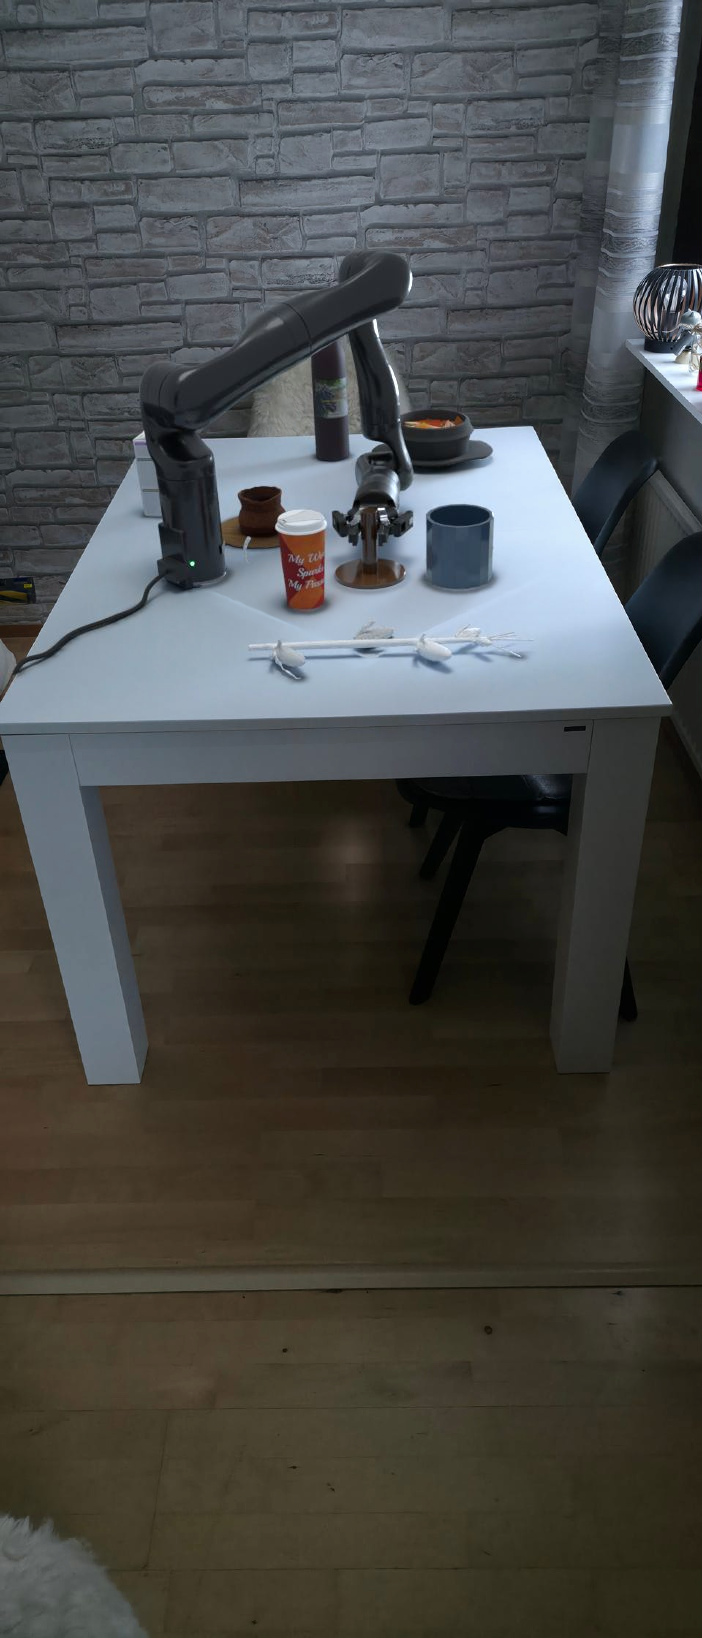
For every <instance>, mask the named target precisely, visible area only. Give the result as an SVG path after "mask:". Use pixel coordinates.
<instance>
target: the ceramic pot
mask: <svg viewBox="0 0 702 1638" xmlns="http://www.w3.org/2000/svg"><path fill="white" fill-rule="evenodd" d="M282 494H283V491H282V489H281V488H280V487H277V486H275V485H274V486H269V485H259V486H253V487H250V488H244V489H241V490H240V491H238V493H237V499H238V500H239V503H240V506H241V507H240V509H239V511H238V516H236V517H232V518H229V519H227V520H226V521H224V522H221V527H222V537H223V542H224V540H225V545H226V544H227V545H231V546H233V547H238V548H239V547H240V548H244V543H245V540H246V539H247V537H250V538H251V540H250V541H249V543H248V545H247V548H252V549H256V548H257V549H258V548H261V549H264V548H267V549H268V548H276V547H280V544H279V536H278V531H277V530H276V528H275V526H276V524H277V520H278V517H279V516H280V515H281V514H283V513H285V512H287V511H286V508H284V507H283V506H282Z"/></svg>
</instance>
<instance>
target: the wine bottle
mask: <svg viewBox="0 0 702 1638" xmlns="http://www.w3.org/2000/svg"><path fill="white" fill-rule="evenodd" d="M310 369H311V388H312V403H313V404H312V405H313V406H312V407H313V408H312V409H313V424H314V425H313V426H314V441H315V442H314V445H315V455H316V458H317V459H319V460H321V461H326V462H337V461H342V460H345V459H347V458H348V457H349V456H350V451H351V450H350V427H349V403H348V401H349V399H348V374H347V372H348V371H347V357H346V351H345V347H344V345H343V341H341V338H340V339H338V340H336V341H335V342H333V343H332V344H330V345H328V346H327V347H325V348H323V349H322V350H320V351H318V352H317V353H315V354H314V355H312V356H311V357H310Z"/></svg>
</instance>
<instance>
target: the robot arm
mask: <svg viewBox="0 0 702 1638" xmlns="http://www.w3.org/2000/svg"><path fill="white" fill-rule="evenodd" d="M412 272H413V271H412V269H411V266H410V265H409V263H408V261H406V259H405V258H404V257H402V256H401V255H399V254H397V253H395V252H393V251H389V250H379V249H353V250H351V251H350V252H349V253H347V254H345V256H344V258H342V260H341V262H340V264H339V268H338V272H337V284H336V285H333V286H329V287H325V288H320V289H316V290H313V291H308V292H304V293H301V294H298V295H294V296H291V297H288V298H286V299H284V300H282V301H280V302H277V303H276V304H275V305H272V306H271V307H269V308H267V309H265V310H264V311H262V312H260V313H259V314H257V315H256V316H254V317H253V318H252V319H251V320H250V321H249V322H248V323H246V325H245V327H244V328H243V329H242V331H241V332H240V335H239V336H238V338H237V340H236V341H235V343H234V344H233V345H232V346H231V347H230V348H229V349H227V350H226V351H224V352H223V353H221V354H219V355H217V356H215V357H213V358H212V359H209V360H207V361H205V362H202V363H199V364H195V365H188V364H186V363H185V364H184V363H181V362H176V361H173V360H158V361H156V362H153V363H151V364H150V365H149V366H148V367H147V368H146V369H145V370H144V372H143V374H142V376H141V379H140V383H139V388H138V401H139V402H138V403H139V410H140V416H141V422H142V429H143V431H144V433H145V439H146V444H147V449H148V452H149V455H150V457H151V459H152V461H153V462H154V465H155V469H156V475H157V483H158V490H159V498H160V506H161V513H162V517H161V520H162V521H161V522H159V523H158V524H157V530H158V537H159V545H160V551H161V558H160V559H157V560H156V566H157V573H158V575H156V576H155V577H154V578H153V579H152V580H151V581H150V582H149V583H148V584H147V586H146V587H145V589H144V592H143V595H142V598H141V600H140V601H139V602H138V603H137V604H135V605H134V606H133V607H131V608H129V609H126V610H124V611H120V612H117V613H115V614H113V615H110V616H108V617H105V618H103V619H100V620H98V621H97V620H96V621H94V622H91V623H87V624H85V625H82V626H80V627H77V628H75V629H73V630H71V631H69V632H68V633H66V634H65V635H64V636H62V638H60V639H59V640H58V641H57V642H56V643H55V644H54V645H53V646H52V647H50V648H49V649H47V650H46V651H43V652H40V653H37V654H32V655H29V656H26V657H24V658H22V659H21V660H19V662H17V664H16V665H15V667H14V668H13V671H12V673H11V675H12V676H15V675H18V674H19V672H20V670H21V669H22V667H23V666H25V665H26V664H27V663H29V662H33V661H37V660H42V659H45V658H48V656H51V655H52V654H53V653H55V652H56V651H57V650H58V649H59V648H60V647H61V646H62V645H64V644H65V643H66V642H67V641H68V640H70V639H71V638H73V637H74V636H77V635H78V634H81V633H83V632H85V631H88V630H91V629H94V628H97V627H100V626H103V625H107V624H108V623H111V622H114V621H116V620H119V619H121V618H124V617H127V616H129V615H132V614H134V613H136V612H137V611H138V610H140V609H141V608H142V607H143V606H144V605H145V604H146V602H147V601H148V597H149V594H150V591H151V589H152V588H153V587H154V586H155V585H156V584H157V583H158V582H159V581H160V580H162V579H163V578H164V579H165V580H166V581H168V582H170V583H173V584H175V585H178V586H179V587H182V588H184V589H191V588H195V587H203V585H206V584H210V583H213V582H218V581H219V580H221V579H223V578H224V577H225V576H226V575H227V572H228V569H227V566H226V555H225V551H226V544H225V540H224V542H223V537H222V527H221V524H222V518H221V510H220V500H219V492H218V481H217V472H216V462H215V455H214V452H213V451H212V450H211V448H210V447H209V446H208V445H207V444H206V442H204V440H203V439H202V438H201V435H200V433H199V432H198V431H199V430H202V429H204V428H206V427H208V426H209V425H210V424H212V423H213V422H214V421H216V420H217V419H219V418H220V417H221V416H222V415H224V413H226V412H227V411H228V410H230V409H231V408H232V407H233V406H235V405H236V404H237V403H239V402H240V401H241V400H243V399H244V398H245V397H246V396H248V395H249V394H251V393H252V392H255V391H256V390H258V389H259V388H261V387H263V386H264V385H266V384H268V383H269V382H271V381H273V380H274V379H276V378H278V377H279V376H281V375H283V374H285V373H287V372H289V371H291V370H292V369H294V368H295V367H297V366H299V365H300V364H302V363H304V362H305V361H306V360H308V359H309V358H310V359H311V356H312V355H314V354H315V353H317V352H318V351H320V350H322V349H323V348H325V347H327V346H328V345H330V344H332V343H333V342H335V341H336V340H338V339H340V340H341V338H343V337H344V336H346V335H347V337H348V342H349V346H350V350H351V354H352V355H351V356H352V360H353V364H354V370H355V376H356V381H357V390H358V401H359V402H358V403H359V416H360V429H361V434H362V436H363V438H364V439H366V440H369V441H372V442H378V443H380V444H386V445H388V446H389V448H390V449H391V450H392V451H385V452H371V451H369V452H365V453H362V454H360V455H359V457H357V459H356V461H355V465H354V478H355V482H356V486H357V489H356V492H355V495H354V499H353V502H352V506H351V508H350V509H349V510H348V511H347V512H346V513H344V512H341V511H339V510H332V511H331V526H332V528H333V529H334V531H335V532H336V533H337V535H338V536H339V537H340V538H347V542H348V543H349V544H351V546H352V547H357V546H358V543H359V540H360V537H361V523H360V510H361V509H364V508H374V509H376V510H377V541H378V547H384V545H385V544H387V543H389V539H390V538H391V536H393V537H394V538H401V537H402V536H404V535H405V534H406V533H407V532H409V531H410V530H411V529H412V528H413V527H414V511H413V510H411V509H408V510H406V511H404V512H399V509H400V492H405V491H407V490H408V489H409V488H410V487H411V486H412V483H413V481H414V474H415V472H414V471H415V470H414V466H412V462H411V459H410V456H409V453H408V451H407V448H406V445H405V442H404V438H403V434H402V429H401V419H400V415H401V404H400V391H399V385H398V382H397V378H396V375H395V373H394V369H393V368H392V366H391V363H390V361H389V359H388V356H387V354H386V352H385V349H384V347H383V344H382V340H381V338H380V334H379V329H378V323H377V322H378V321H377V319H380V318H382V317H385V316H387V315H390V314H391V313H393V312H395V311H396V310H398V309H399V308H400V307H401V306H402V305H403V304H404V302H405V301H406V300H407V298H408V296H409V294H410V292H411V288H412V284H413V273H412Z"/></svg>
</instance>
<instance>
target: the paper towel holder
mask: <svg viewBox="0 0 702 1638" xmlns="http://www.w3.org/2000/svg"><path fill="white" fill-rule="evenodd" d="M360 523H361V536H360V548H361V550H360V551H361V554H360V555H361V558H357V559H352V560H350V561H347V562H344V563H342V564H340V565H339V566H338V567H337V568H336V569H335V570H334V578H335V580H336V581H337V582H338V583H339V584H340V585H342V586H346V587H349V588H354V589H359V590H361V589H362V590H372V589H382V588H387V587H391V586H394V585H396V584H398V583H400V582H402V581H403V580H404V579H405V578H406V572H407V571H406V568H405V566H404V565H403V564H401V563H400V562H398V561H395V560H392V559H388V558H379V549H378V548H379V546H378V533H377V510H376V509H374V508H364V509H361V510H360Z"/></svg>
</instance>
